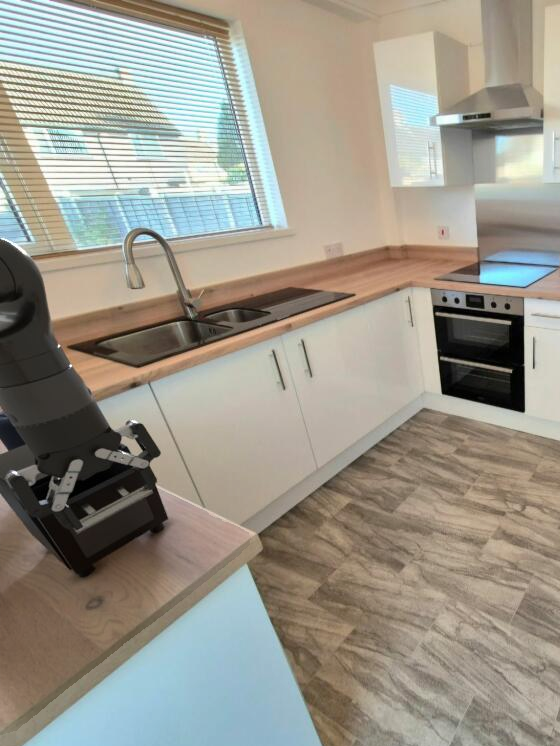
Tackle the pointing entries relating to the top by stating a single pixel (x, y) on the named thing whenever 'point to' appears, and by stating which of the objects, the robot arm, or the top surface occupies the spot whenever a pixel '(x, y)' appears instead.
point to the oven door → (106, 519)
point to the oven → (24, 459)
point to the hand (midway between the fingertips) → (115, 506)
